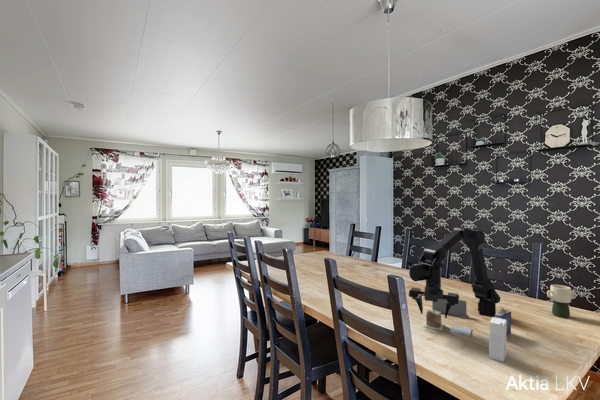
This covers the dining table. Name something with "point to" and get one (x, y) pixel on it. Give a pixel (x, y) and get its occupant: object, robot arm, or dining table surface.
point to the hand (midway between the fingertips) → (433, 316)
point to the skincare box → (497, 339)
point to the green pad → (434, 327)
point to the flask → (507, 316)
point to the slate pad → (461, 330)
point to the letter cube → (433, 318)
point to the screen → (454, 310)
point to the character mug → (560, 299)
